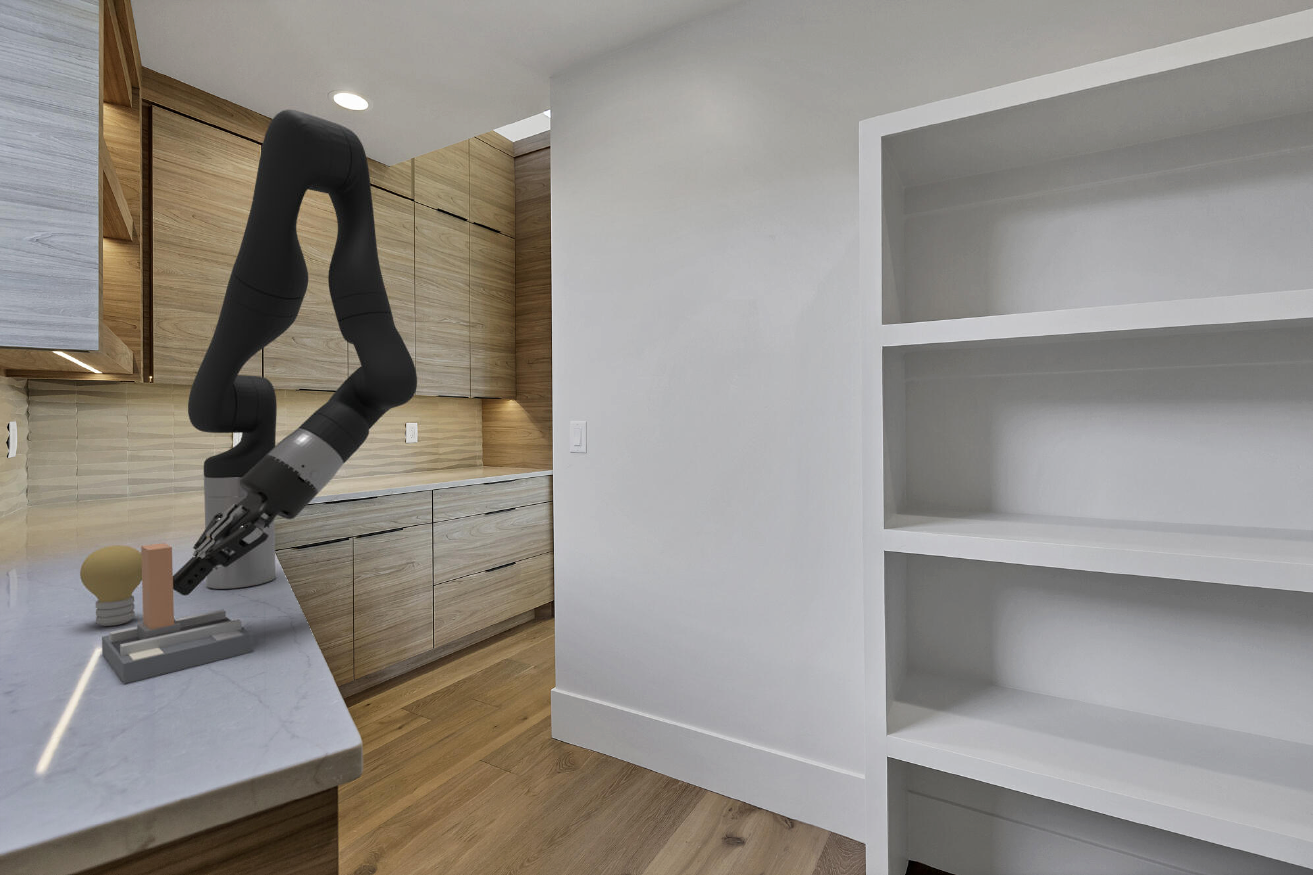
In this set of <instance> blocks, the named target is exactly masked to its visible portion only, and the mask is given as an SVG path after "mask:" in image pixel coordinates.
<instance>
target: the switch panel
mask: <svg viewBox="0 0 1313 875" xmlns="http://www.w3.org/2000/svg"><path fill="white" fill-rule="evenodd" d="M226 615H227V611H226V610H224V609H220V610H219V609H218V610H214V611H210V612H203V613H198V614H194V615H188V616H183V617H179V618H174V619H175V620H176V621H177V622H178V623H179V624H180V630H181V632H176V633H172V634H167V635H162V636H157V637H153V638H148V639H143V640H140V639H139V638H138V637H137V626H133V627H129V628H123V629H119V630H113V631H109V635H103V636H101V645H102V646H101V648H102V650H101V651H102V656H103V658H105V660H106V662H108V664H109V665H110V667H111V668H112V670H113V671H114V673H115V674H116V675H117V677H118V678H119V680H120V681H121V682H122V684H124V685H125V684H129V683H133V682H137V681H142V680H145V679H149V678H154V677H157V676H162V675H165V674H170V673H173V672H178V671H181V670H185V669H189V668H193V667H198V666H201V665H204V664H210V663H212V662H218V661H221V660H224V659H229V658H232V657H236V656H241V655H245V654H250V653H252V652H253V633H252V632H250V631H248V629H245V628H243V627H242V620H240V619H233V620H232V619H230V618H229V617H227V616H226ZM161 674H162V675H161Z"/></svg>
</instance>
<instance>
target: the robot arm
mask: <svg viewBox="0 0 1313 875" xmlns="http://www.w3.org/2000/svg"><path fill="white" fill-rule="evenodd" d="M256 173H257V174H256V179H255V184H254V190H253V197H252V202H251V206H250V210H249V214H248V217H247V220H246V225H245V230H244V233H243V236H242V239H241V243H240V246H239V250H238V253H237V255H236V259H235V261H234V264H233V266H232V269H231V274H230V276H229V279H228V283H227V286H226V290H225V294H224V298H223V302H222V305H221V310H220V314H219V316H218V320H217V323H216V327H215V329H214V332H213V335H212V338H211V340H210V344H209V345H208V348H207V350H206V352H205V355H204V356H203V359H202V361H201V363H200V366H199V367H198V370H197V372H196V375H195V377H194V379H193V382H192V386H191V388H190V392H189V396H188V401H187V413H188V419H189V421H190V424H191V425H192V426H193V427H194V428H195V429H196V430H198V431H200V432H202V433H209V434H210V433H213V434H216V433H217V434H232V433H234V434H240V433H241V438H240V441H239V442H238V443H237V444H236V445H235V446H233V447H232V448H231V447H230V449H228V450H226V451H224V452H220V453H218V454H216V455H211V456H209V457H208V458H206V459H205V460H204V462H203V476H204V477H203V492H204V494H203V495H204V496H203V497H204V498H203V499H204V526H205V527H204V531H203V532H202V534H201V535H200V537H199V538H198V540H197V541H196V543H195V544H194V545H193V547H192V548H193V549H194V551H193V553H192V555H193V556H192V557H191V558H190V559H189V560H187V562H186V563H185V564H184V565H183V566H182V567H181V568H179V569H178V571H176V573H175V574H174V575H173V591H176V592H177V593H178V594H180V595H181V596H189V595H190V594H191V593H192V592H193V591H194V590H195V589H196V588H197V587H198V586H199V585H200V584H201V583H202V582H203V581H204V580H205V579H206V587H207V588H210V589H218V590H219V589H220V590H223V589H226V590H227V589H238V588H239V589H240V588H246V587H252V586H253V587H254V586H257V585H262V584H265V583H268V582H271V581H273V580H274V579H275V578H276V543H275V542H276V535H275V534H276V533H275V532H276V531H275V518H276V517H277V516H279V517H281V518H284V519H286V520H293V519H295V518H296V517H297V516H298V515H299V514H300V513H301V512H302V511H303V510H304V508H306V507H307V505H309V504H310V503H311V501H313V499H314V498H315V497H316V496H317V495H318V494H319V493H320V492H321V491H322V490H323V489H324V488H325V487H326V486H327V485H328V484H329V482H331V480H332V479H333V478H334V477H335V476H336V474H337V473H338V471H339V470H340V469H341V467H342V466H343V465H344V464H345V463H346V462H347V461H348V460H349V459H350V458H351V457H352V456H353V455H354V453H356V452H357V451H358V450H359V449H360V447H361V446H362V445H363V444H364V443H365V442H366V440H367V439H368V436H369V433H370V430H371V428H372V427H374V426H375V424H376V423H377V422H379V420H380V419H381V418H382V417H383V416H384V415H385V414H386V413H387V412H388V411H390V410H391V409H394V408H397V407H400V406H402V405H405V404H407V403H408V402H409V401H411V400H412V398H413V397H414V396H415V394H416V392H417V387H418V374H417V370H416V367H415V363H414V361H413V358H412V356H411V354H410V352H409V350H408V347H407V346H406V343H405V342H404V340H403V337H402V336H401V334H400V333H399V331H398V329H397V326H396V324H395V321H394V316H393V311H392V309H391V308H392V307H391V305H390V301H389V297H388V293H387V290H386V286H385V283H384V277H383V275H382V270H381V265H380V259H379V255H378V254H379V252H378V246H377V237H376V225H375V223H376V222H375V215H374V204H373V198H372V197H373V196H372V188H371V187H372V186H371V180H370V179H371V178H370V171H369V164H368V159H367V155H366V151H365V148H364V145H363V143H362V142H361V139H360V138H359V137H358V135H357V134H356V133H355V132H354V131H353V130H352V129H349V128H347V127H346V126H343V125H341V124H339V123H336V122H333V121H329V120H328V119H323V118H321V117H318V116H315V115H312V114H309V113H305V112H303V111H300V110H296V109H295V110H294V109H285V110H282V111H280V112H278V113H277V114H275V116H273V118H272V119H271V121H270V122H269V124H268V127H267V129H266V132H265V134H264V139H263V140H262V146H261V151H260V156H259V161H258V167H257V172H256ZM308 190H309V191H313V192H319V193H322V194H328V196H329V198H330V200H331V204H332V206H333V209H334V212H335V216H336V221H337V222H336V223H337V233H336V234H337V236H336V241H335V245H334V249H333V252H332V256H331V258H330V259H331V260H330V264H329V267H328V274H327V275H328V291H329V294H330V296H329V297H330V298H331V303H332V306H333V310H334V314H335V317H336V320H337V324H338V328H339V332H340V333H341V336H342V338H343V340H344V341H346V342H347V343H348V344H351V345H353V347H354V350H355V352H356V355H357V357H358V359H359V363H360V367H358V368H357V369H356V370H354V371H353V372H352V373H351V374H350V375H349V376H348V377H347V378H346V379H345V380H344V381H343V383H341V385H340V386H339V387H338V388H337V389H336V390H335V392H334V393H333V394H332V395H331V397H330V398H329V399H328V401H327V402H325V403H324V404H323V405H321V407H319V408H318V409H317V410H315V411H314V412H313V413H312V414H311V415H310V416H309V417H308V418H307V419H306V420H305V421H303V423H301V425H300V426H298V427H297V428H296V429H295V430H294V431H293V432H291V433H290V434H289V435H287V436H285V437H284V438H283V439H281V441H280V442H278V443H276V434H277V432H276V429H277V410H278V409H277V408H278V406H277V404H278V403H277V395H276V391H275V388H274V386H273V383H272V382H271V380H269V379H268V378H266V377H263V376H258V375H243V374H241V375H239V373H240V371H241V370H242V368H243V367H244V365H245V364H246V363H247V362H248V361H249V360H250V359H251V358H253V357H254V356H255V355H256V354H257V353H259V352H260V351H261V350H263V349H264V348H265V347H267V346H268V345H270V344H271V343H273V342H275V340H277V339H278V338H279V337H280V336H281V335H282V334H284V333H285V332H286V331H288V329H289V328H291V326H292V325H293V324H294V323H295V321H296V319H297V317H298V314H299V312H300V309H301V307H302V304H303V301H304V299H305V295H306V293H307V290H308V285H309V271H308V268H307V263H306V260H305V256H304V253H303V250H302V247H301V244H300V241H299V237H298V233H297V232H298V231H297V223H298V218H299V213H300V209H301V205H302V204H303V203H302V202H303V199H304V197H305V195H306V192H307V191H308Z"/></svg>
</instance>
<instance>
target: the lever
mask: <svg viewBox="0 0 1313 875" xmlns="http://www.w3.org/2000/svg"><path fill="white" fill-rule="evenodd" d="M140 550H141V552H140V553H141V557H142V581H141V582H142V583H141V584H142V586H141V588H142V590H141V591H142V621H143V622H137V623H136V627H137V637H138V638H139V639H140V640H143V639H148V638H153V637H157V636H162V635H167V634H172V633H176V632H181V630H180V624H179V623H178V622H177V621H176V620H175V619H176V618H175V613H174V612H175V611H174V608H175V607H174V589H173V576H174V575H173V574H174V572H173V547H172V546H170V545H169V544H166V543H164V542H163V543H162V542H161V543H154V544H153V543H152V544H146V545H141V546H140Z"/></svg>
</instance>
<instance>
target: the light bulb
mask: <svg viewBox="0 0 1313 875" xmlns="http://www.w3.org/2000/svg"><path fill="white" fill-rule="evenodd" d="M79 575H80V579H81V583H82V584H83V586H84V587H85V589H87V590H88V592H90V593H91V594H92V595H93V596H95V597H96V599H97V601H95V608H96V610H95V615H96V617H95V622H96V623H97V625H100V626H102V627H114V626H118V625H123V624H126V623H129V622H130V621H131V620H132V619H133V618H135V615H136V613H135V603H134V602H135V597H134V595H133V592H134V591H135V590H136V589H137V588H138V586H139V585H140V584H141V582H142V557H141V552H140V551H139V550H138V549H136V548H134V547H131V546H129V545H128V546H127V545H109V546H104V547H102V548H99V549H97V550H95V551H93V552H92V553H90V554H89V555H88V556H87V557H86V558H85V559H84V561H83V562H82V564H81V567H80V572H79Z"/></svg>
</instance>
